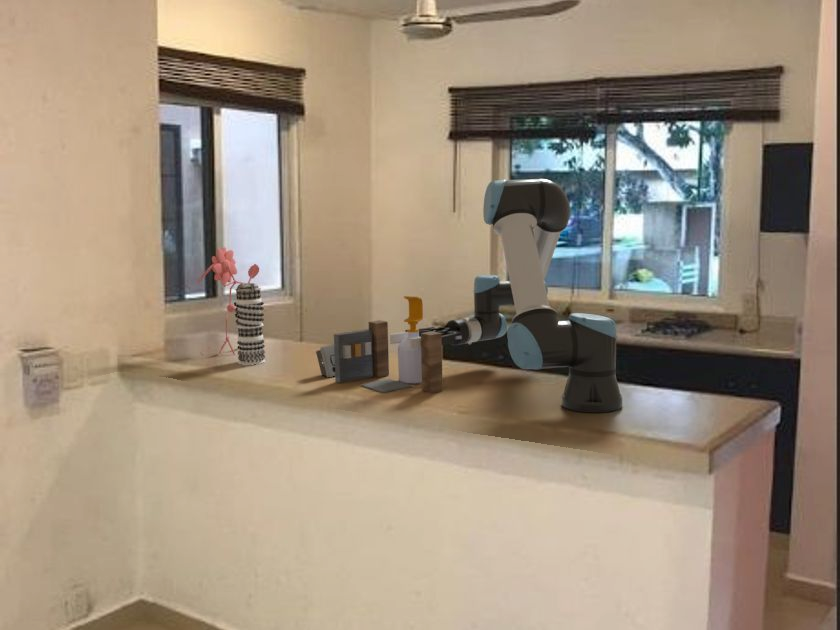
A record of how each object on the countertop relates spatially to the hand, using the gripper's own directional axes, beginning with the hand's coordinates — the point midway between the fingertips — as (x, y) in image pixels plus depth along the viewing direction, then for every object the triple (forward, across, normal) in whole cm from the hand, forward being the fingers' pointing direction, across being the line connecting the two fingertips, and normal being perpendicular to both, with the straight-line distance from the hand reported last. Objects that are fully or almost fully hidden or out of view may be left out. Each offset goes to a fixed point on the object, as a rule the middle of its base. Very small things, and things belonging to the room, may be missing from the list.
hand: (400, 341), depth 267 cm
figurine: (+15, +78, -12) cm, 80 cm away
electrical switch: (+8, +23, -12) cm, 27 cm away
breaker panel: (+7, +13, -12) cm, 19 cm away
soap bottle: (-5, 0, -12) cm, 13 cm away
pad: (+5, 0, -12) cm, 13 cm away
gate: (-1, 0, -12) cm, 12 cm away
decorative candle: (+18, +55, -12) cm, 59 cm away
